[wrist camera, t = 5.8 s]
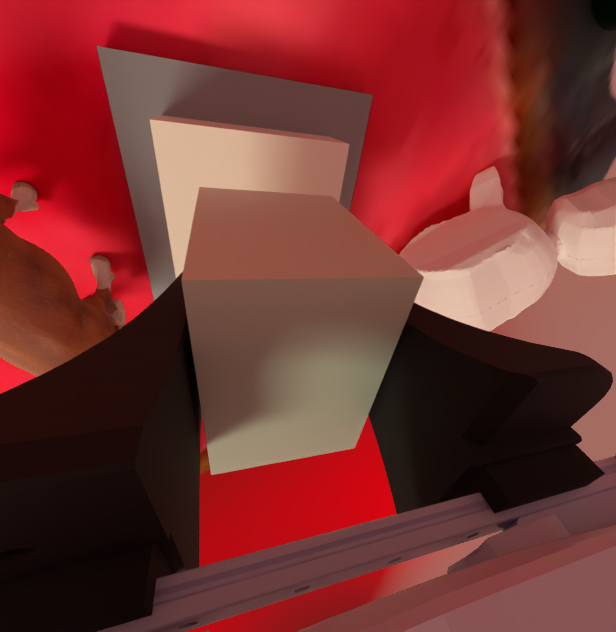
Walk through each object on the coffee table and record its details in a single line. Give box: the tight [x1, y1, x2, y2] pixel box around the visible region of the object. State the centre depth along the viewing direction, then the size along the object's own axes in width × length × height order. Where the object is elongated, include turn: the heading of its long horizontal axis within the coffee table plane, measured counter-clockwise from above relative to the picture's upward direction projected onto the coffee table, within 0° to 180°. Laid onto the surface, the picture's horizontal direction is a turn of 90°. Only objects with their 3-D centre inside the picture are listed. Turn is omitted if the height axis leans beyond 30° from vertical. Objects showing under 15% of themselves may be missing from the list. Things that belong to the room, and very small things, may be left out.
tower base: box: [96, 46, 373, 301], centre depth 16 cm, size 13×12×4 cm
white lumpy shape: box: [399, 166, 616, 331], centre depth 20 cm, size 9×8×15 cm
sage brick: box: [181, 187, 424, 475], centre depth 9 cm, size 6×4×6 cm
